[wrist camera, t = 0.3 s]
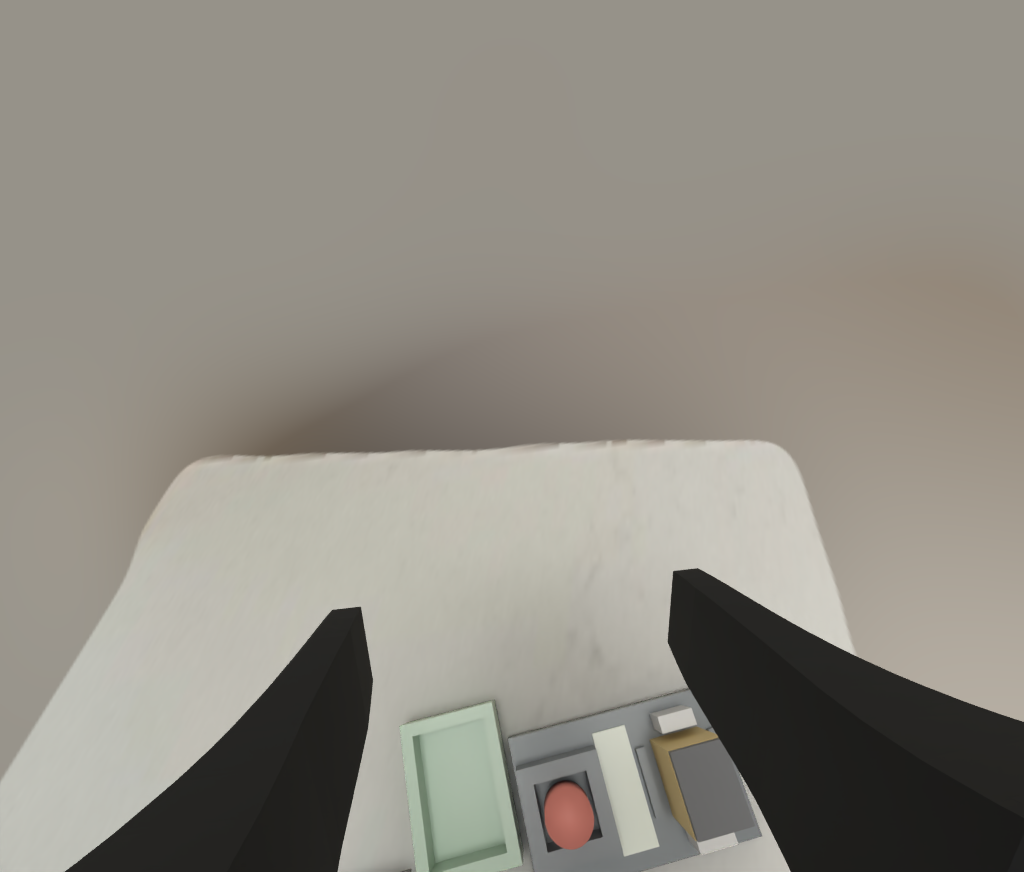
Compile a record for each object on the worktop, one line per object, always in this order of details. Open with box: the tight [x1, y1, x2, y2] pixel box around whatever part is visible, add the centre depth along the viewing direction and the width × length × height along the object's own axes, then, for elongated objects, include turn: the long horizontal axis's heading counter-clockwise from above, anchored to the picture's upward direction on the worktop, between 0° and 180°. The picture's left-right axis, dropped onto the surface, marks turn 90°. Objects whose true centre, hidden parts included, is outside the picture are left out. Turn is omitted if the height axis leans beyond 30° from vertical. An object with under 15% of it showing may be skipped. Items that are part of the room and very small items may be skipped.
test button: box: [544, 780, 594, 850], centre depth 31 cm, size 3×3×2 cm
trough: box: [399, 700, 523, 872], centre depth 33 cm, size 9×7×3 cm
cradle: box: [508, 689, 762, 872], centre depth 33 cm, size 15×9×4 cm, turn 103°
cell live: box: [650, 726, 755, 843], centre depth 31 cm, size 4×4×6 cm
